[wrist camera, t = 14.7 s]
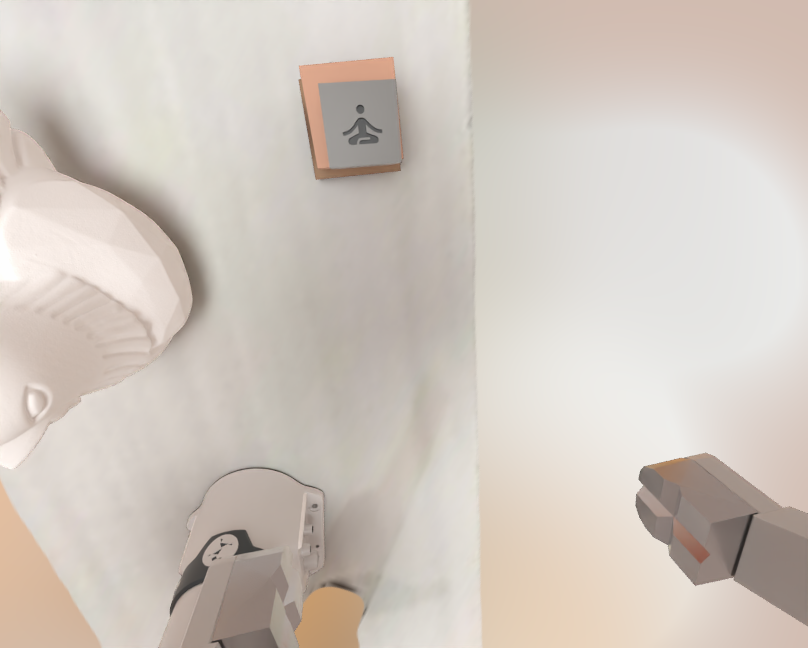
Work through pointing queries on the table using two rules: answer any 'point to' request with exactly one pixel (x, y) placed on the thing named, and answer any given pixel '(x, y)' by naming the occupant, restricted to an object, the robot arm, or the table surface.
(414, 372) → the table surface
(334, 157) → the dice cube
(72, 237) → the decorative rooster
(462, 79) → the table surface
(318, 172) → the walnut base block
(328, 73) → the terracotta top block
